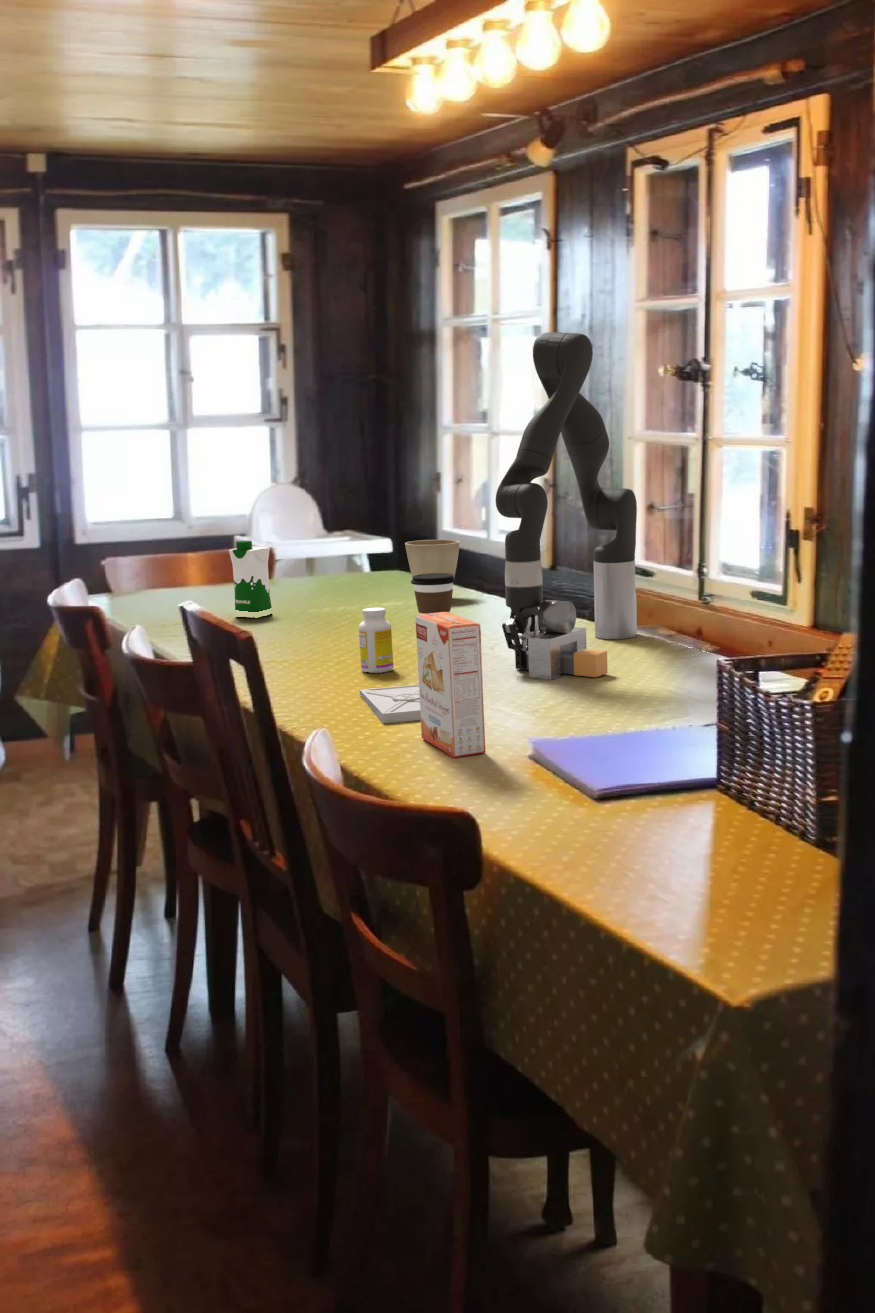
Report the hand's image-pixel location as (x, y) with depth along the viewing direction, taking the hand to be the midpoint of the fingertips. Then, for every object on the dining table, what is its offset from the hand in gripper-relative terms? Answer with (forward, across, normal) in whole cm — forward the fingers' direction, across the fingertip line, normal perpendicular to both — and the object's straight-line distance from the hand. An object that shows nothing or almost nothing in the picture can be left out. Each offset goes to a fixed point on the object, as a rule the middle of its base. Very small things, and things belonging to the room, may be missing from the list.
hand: (526, 666), depth 281 cm
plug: (0, 0, -8) cm, 8 cm away
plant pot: (+1, +71, +74) cm, 103 cm away
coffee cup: (+1, +38, +50) cm, 63 cm away
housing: (0, 0, -8) cm, 8 cm away
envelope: (+1, -38, +2) cm, 38 cm away
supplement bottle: (+1, -14, +27) cm, 31 cm away
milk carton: (+1, +30, +104) cm, 108 cm away
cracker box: (+1, -58, -23) cm, 62 cm away
